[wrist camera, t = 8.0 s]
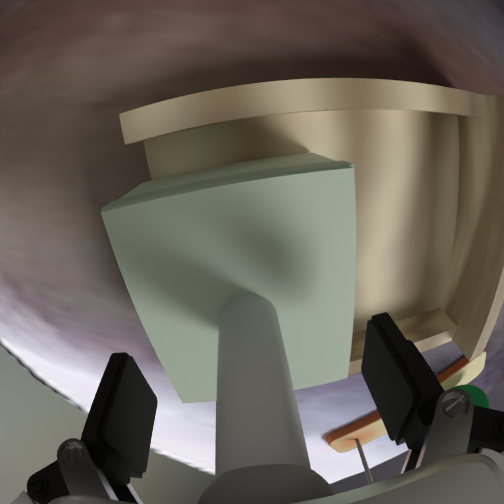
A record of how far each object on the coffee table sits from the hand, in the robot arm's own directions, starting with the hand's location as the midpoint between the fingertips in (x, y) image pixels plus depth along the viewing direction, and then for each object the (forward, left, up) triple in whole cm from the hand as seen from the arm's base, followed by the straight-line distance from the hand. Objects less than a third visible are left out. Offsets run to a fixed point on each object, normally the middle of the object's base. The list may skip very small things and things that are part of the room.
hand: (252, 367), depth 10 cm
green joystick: (0, 0, -9) cm, 9 cm away
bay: (-7, 0, -10) cm, 12 cm away
